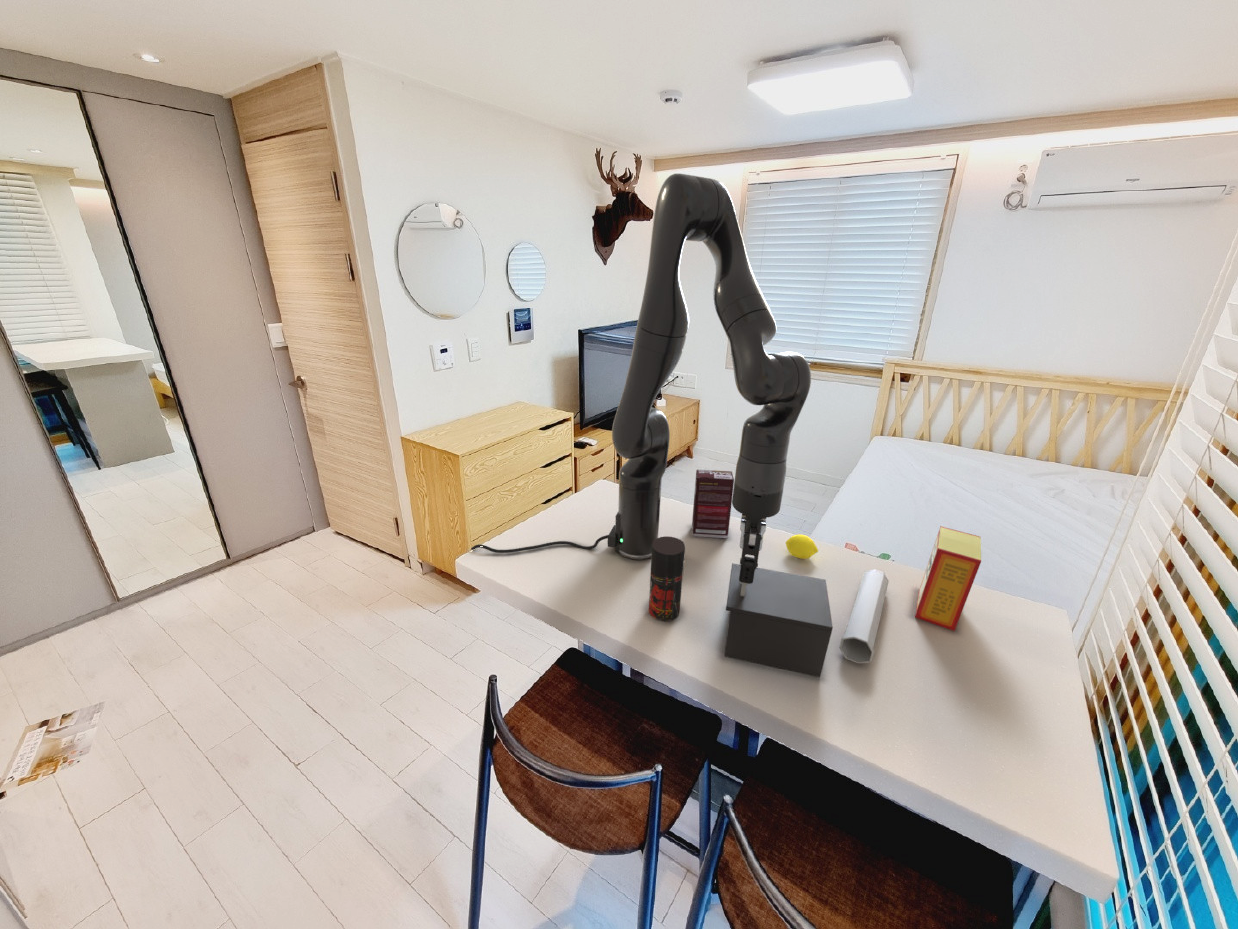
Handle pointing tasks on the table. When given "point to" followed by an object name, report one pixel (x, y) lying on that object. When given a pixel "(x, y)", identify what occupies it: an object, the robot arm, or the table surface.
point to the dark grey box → (776, 643)
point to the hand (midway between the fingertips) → (746, 566)
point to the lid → (781, 598)
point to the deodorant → (666, 578)
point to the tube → (865, 618)
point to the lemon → (801, 546)
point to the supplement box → (712, 503)
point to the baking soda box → (948, 577)
